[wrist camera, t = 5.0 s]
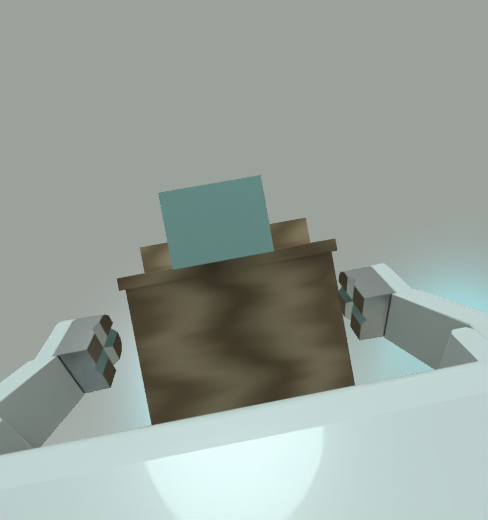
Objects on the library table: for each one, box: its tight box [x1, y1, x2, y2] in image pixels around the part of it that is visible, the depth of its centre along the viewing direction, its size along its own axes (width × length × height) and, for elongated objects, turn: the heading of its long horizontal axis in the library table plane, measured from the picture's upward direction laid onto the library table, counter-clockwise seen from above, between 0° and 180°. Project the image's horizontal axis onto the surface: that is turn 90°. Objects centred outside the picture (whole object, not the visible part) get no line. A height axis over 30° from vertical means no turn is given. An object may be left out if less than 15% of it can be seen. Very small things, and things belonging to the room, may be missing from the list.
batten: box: [158, 175, 274, 270], centre depth 21 cm, size 4×20×3 cm, turn 2°
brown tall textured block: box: [117, 218, 355, 425], centre depth 26 cm, size 15×15×28 cm
